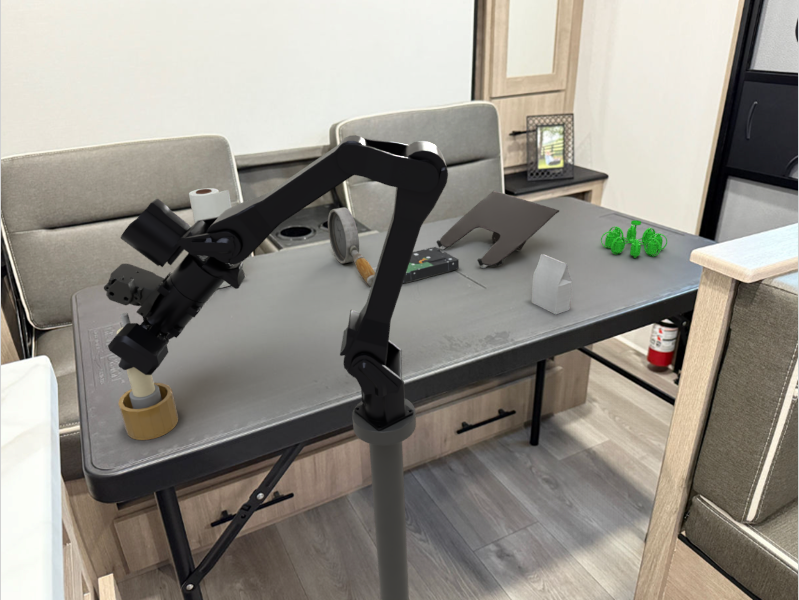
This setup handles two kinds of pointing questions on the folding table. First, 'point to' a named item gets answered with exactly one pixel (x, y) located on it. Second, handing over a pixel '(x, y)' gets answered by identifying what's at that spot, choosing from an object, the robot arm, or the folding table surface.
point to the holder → (149, 415)
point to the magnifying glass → (347, 242)
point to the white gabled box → (552, 285)
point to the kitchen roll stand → (141, 383)
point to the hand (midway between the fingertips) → (126, 361)
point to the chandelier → (634, 240)
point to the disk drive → (429, 264)
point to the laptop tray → (500, 225)
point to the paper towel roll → (209, 205)
